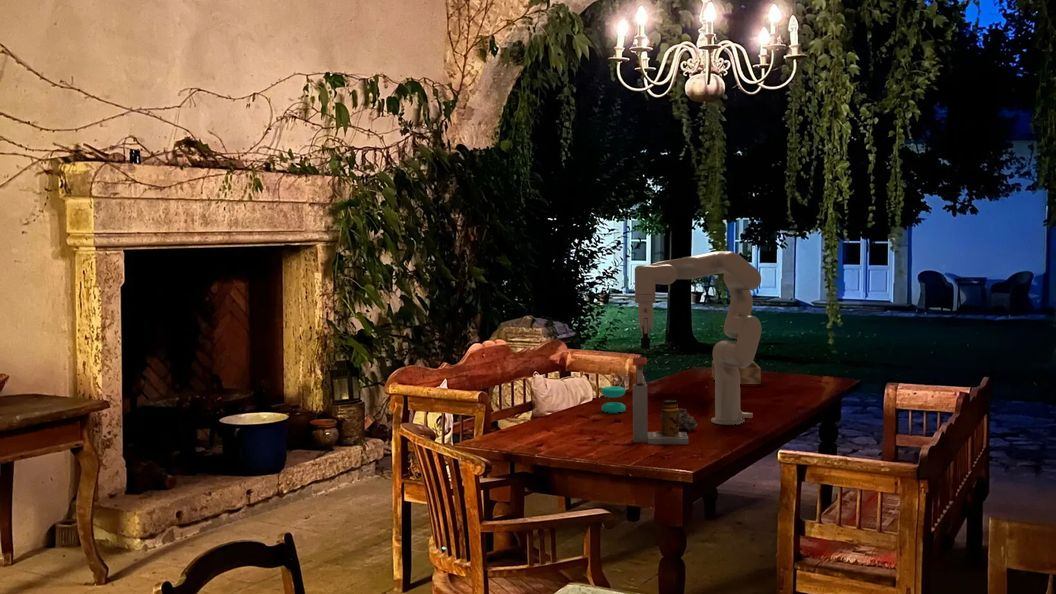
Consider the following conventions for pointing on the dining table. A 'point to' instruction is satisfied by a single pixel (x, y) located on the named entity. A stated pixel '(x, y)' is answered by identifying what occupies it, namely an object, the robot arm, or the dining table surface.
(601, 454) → the dining table surface
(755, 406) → the dining table surface
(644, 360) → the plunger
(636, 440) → the grey l-shaped piece
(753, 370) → the toy crate
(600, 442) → the dining table surface
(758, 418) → the dining table surface
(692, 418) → the mineral specimen
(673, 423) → the condiment
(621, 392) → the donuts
